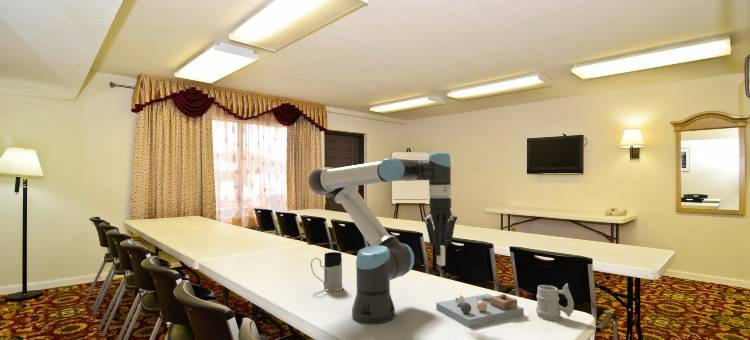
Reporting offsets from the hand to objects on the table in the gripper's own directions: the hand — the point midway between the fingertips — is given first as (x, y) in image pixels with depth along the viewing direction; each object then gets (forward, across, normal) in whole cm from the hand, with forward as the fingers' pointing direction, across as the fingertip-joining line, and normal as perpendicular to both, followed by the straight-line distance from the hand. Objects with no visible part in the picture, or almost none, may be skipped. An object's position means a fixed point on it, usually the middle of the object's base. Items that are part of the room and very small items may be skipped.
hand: (441, 264), depth 127 cm
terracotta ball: (+14, +11, -8) cm, 19 cm away
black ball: (+14, +5, -7) cm, 16 cm away
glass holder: (+18, -26, +49) cm, 58 cm away
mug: (+18, +34, -18) cm, 42 cm away
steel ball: (+14, +8, 0) cm, 16 cm away
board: (+18, +14, -3) cm, 23 cm away
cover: (+15, +21, -8) cm, 27 cm away
